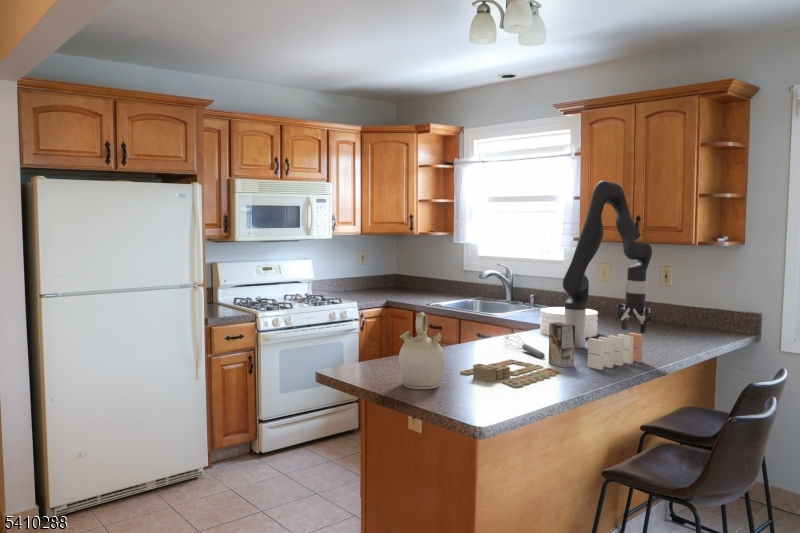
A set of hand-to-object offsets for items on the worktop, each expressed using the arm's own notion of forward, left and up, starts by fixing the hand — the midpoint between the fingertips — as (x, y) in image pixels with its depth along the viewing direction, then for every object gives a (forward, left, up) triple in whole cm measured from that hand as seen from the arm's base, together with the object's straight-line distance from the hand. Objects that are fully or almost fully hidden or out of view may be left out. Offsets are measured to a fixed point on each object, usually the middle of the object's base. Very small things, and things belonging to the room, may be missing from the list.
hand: (633, 331), depth 258 cm
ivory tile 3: (-8, -15, -12) cm, 21 cm away
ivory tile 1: (-2, -5, -12) cm, 13 cm away
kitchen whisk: (-44, -2, -13) cm, 45 cm away
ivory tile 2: (-5, -10, -12) cm, 17 cm away
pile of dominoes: (-37, -44, -13) cm, 59 cm away
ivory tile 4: (-11, -20, -12) cm, 26 cm away
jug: (-60, -76, -12) cm, 98 cm away
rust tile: (+1, 0, -12) cm, 12 cm away
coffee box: (-24, -21, -12) cm, 34 cm away
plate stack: (-36, +54, -12) cm, 66 cm away
